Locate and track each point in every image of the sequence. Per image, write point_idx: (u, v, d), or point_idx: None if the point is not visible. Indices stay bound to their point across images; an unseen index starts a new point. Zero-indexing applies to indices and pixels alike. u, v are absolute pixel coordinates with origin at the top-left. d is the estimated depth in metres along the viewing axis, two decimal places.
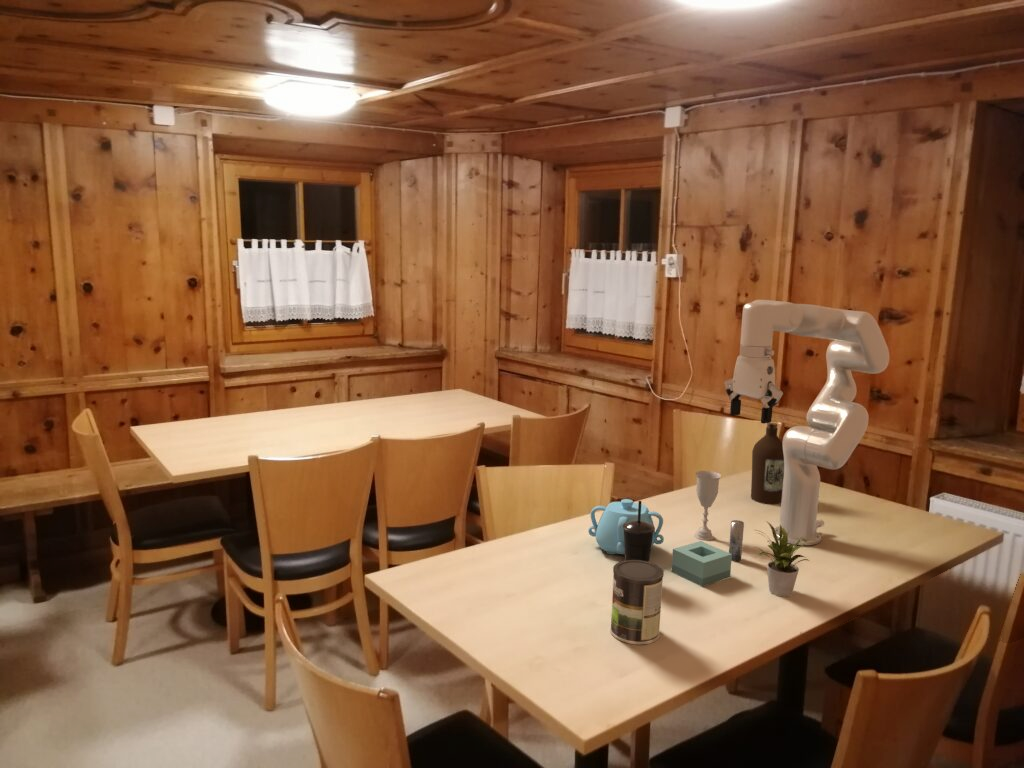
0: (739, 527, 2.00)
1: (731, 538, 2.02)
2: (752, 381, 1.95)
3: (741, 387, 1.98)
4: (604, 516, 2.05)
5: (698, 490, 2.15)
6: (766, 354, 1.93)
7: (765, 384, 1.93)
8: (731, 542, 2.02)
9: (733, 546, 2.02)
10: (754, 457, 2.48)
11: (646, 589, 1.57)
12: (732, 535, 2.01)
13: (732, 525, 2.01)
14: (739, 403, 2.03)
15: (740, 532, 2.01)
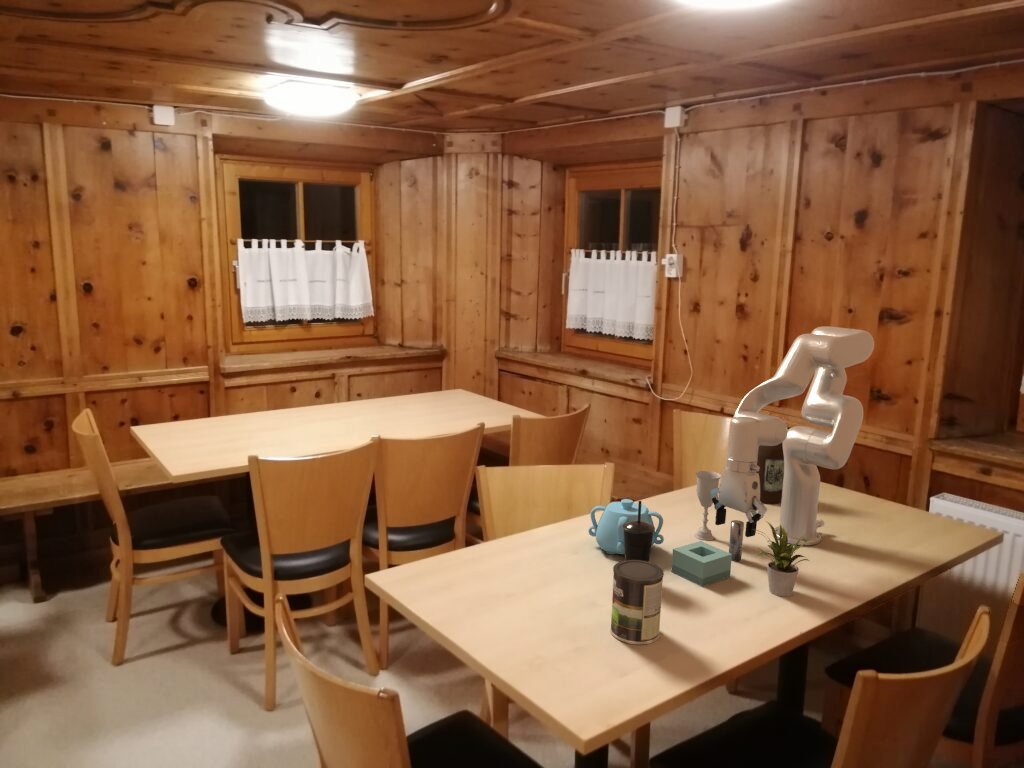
0: (739, 527, 2.00)
1: (731, 538, 2.02)
2: (737, 495, 1.97)
3: (726, 499, 2.00)
4: (604, 516, 2.05)
5: (698, 490, 2.15)
6: (751, 469, 1.95)
7: (750, 499, 1.95)
8: (731, 542, 2.02)
9: (733, 546, 2.02)
10: None
11: (646, 589, 1.57)
12: (732, 535, 2.01)
13: (732, 525, 2.01)
14: (724, 513, 2.05)
15: (740, 532, 2.01)
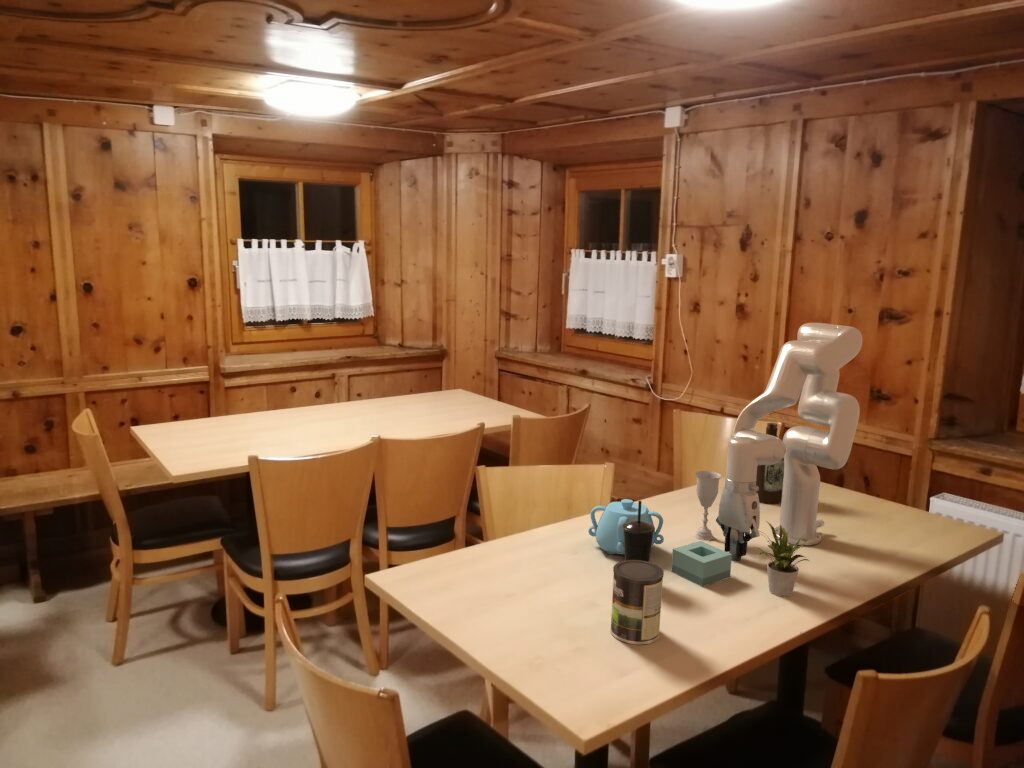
0: None
1: (731, 538, 2.02)
2: (737, 515, 1.98)
3: (726, 518, 2.02)
4: (604, 516, 2.05)
5: (698, 490, 2.15)
6: (751, 490, 1.96)
7: (750, 519, 1.96)
8: (731, 542, 2.02)
9: (733, 546, 2.02)
10: None
11: (646, 589, 1.57)
12: (732, 535, 2.01)
13: None
14: None
15: None
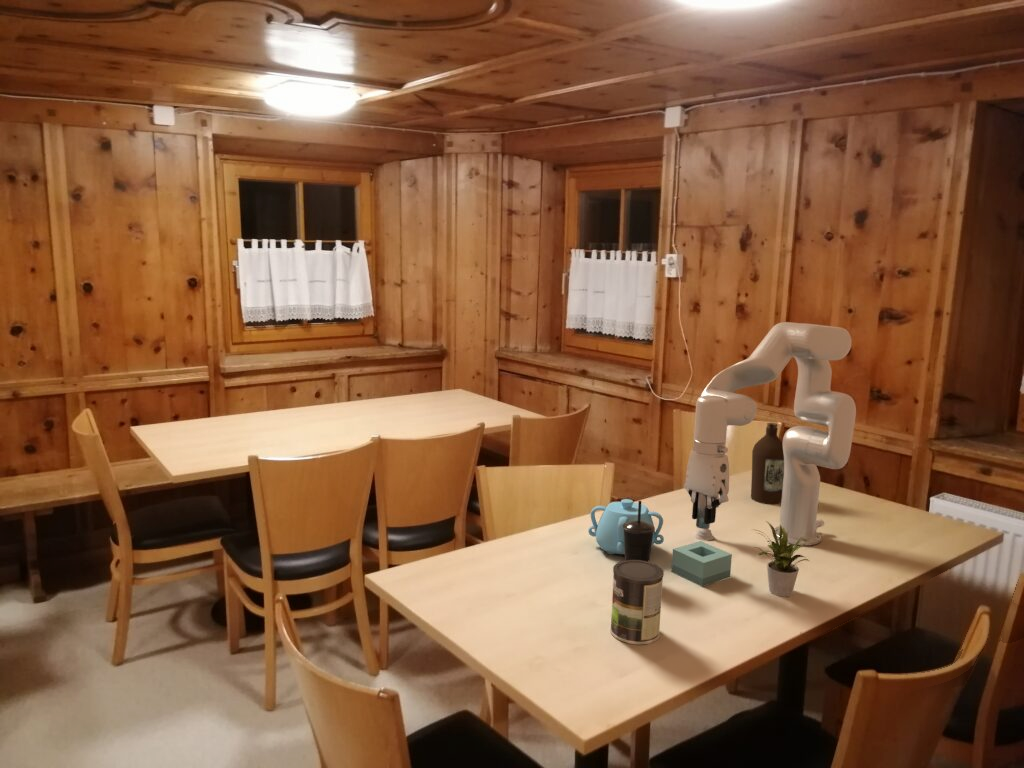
0: None
1: (699, 504, 1.89)
2: (705, 478, 1.86)
3: (694, 483, 1.89)
4: (604, 516, 2.05)
5: None
6: (719, 451, 1.84)
7: (718, 482, 1.84)
8: (699, 508, 1.89)
9: (701, 512, 1.89)
10: (754, 457, 2.48)
11: (646, 589, 1.57)
12: (700, 501, 1.89)
13: None
14: None
15: None
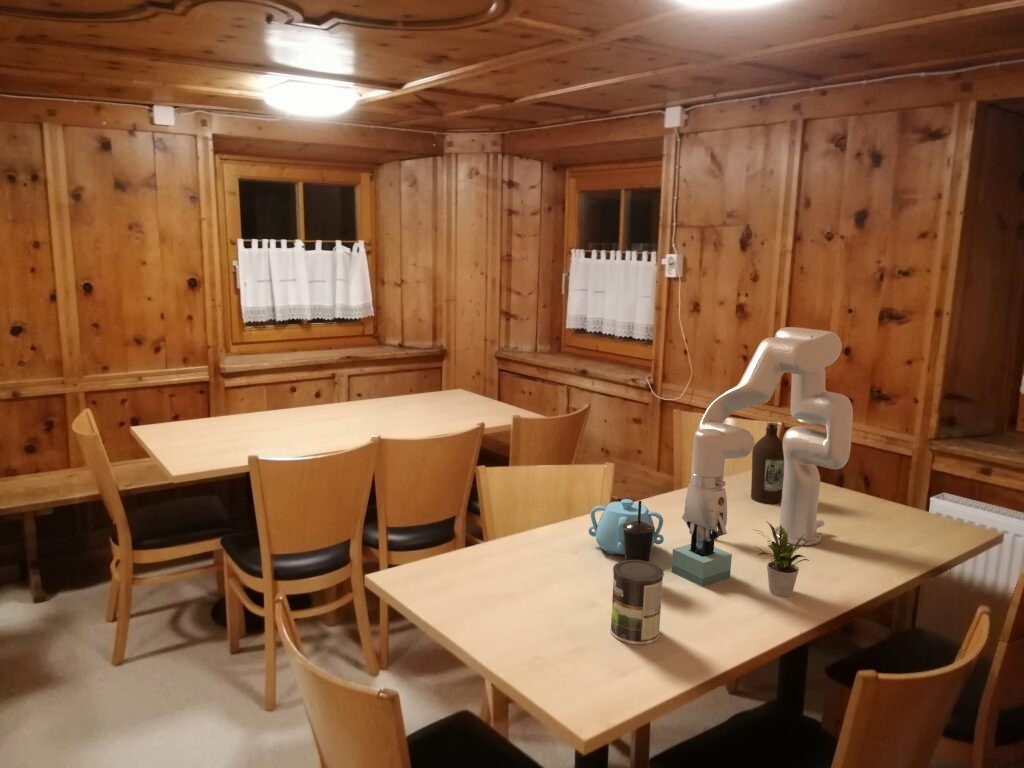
0: None
1: (697, 536, 1.91)
2: (703, 511, 1.88)
3: (692, 515, 1.91)
4: (604, 516, 2.05)
5: None
6: (717, 485, 1.86)
7: (716, 516, 1.86)
8: (697, 540, 1.91)
9: (699, 544, 1.91)
10: (754, 457, 2.48)
11: (646, 589, 1.57)
12: (698, 533, 1.91)
13: None
14: None
15: None
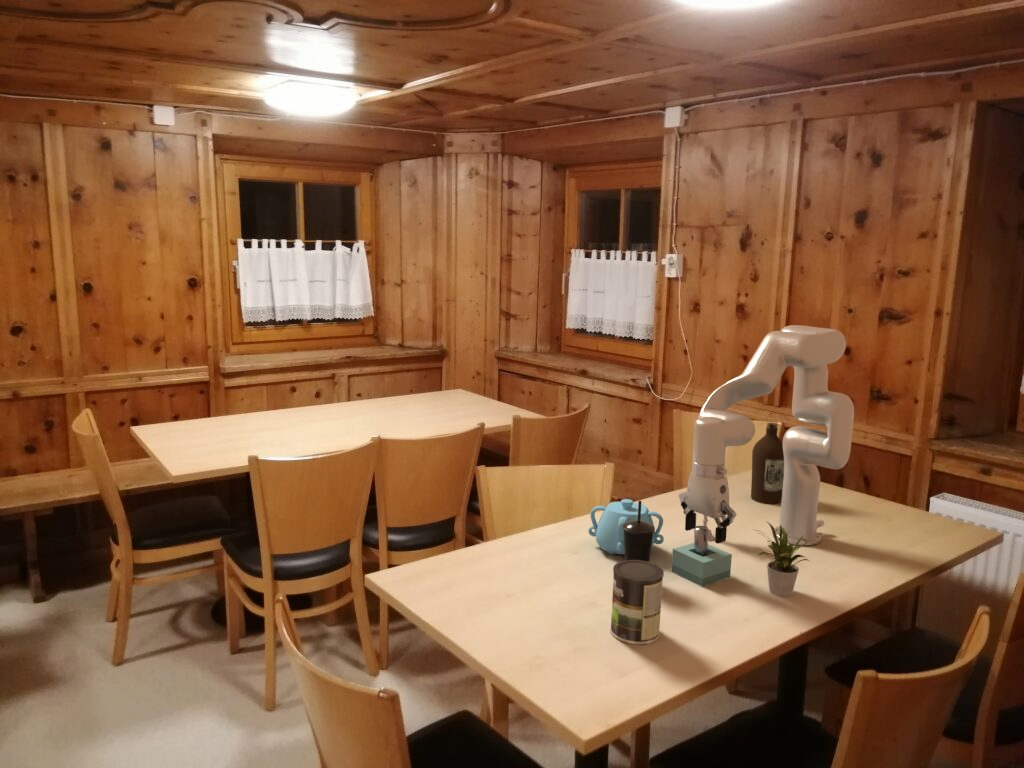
0: (703, 532, 1.90)
1: (695, 545, 1.91)
2: (705, 500, 1.87)
3: (695, 504, 1.91)
4: (604, 516, 2.05)
5: None
6: (718, 473, 1.85)
7: (718, 504, 1.85)
8: (696, 549, 1.92)
9: (698, 553, 1.91)
10: (754, 457, 2.48)
11: (646, 589, 1.57)
12: (696, 542, 1.91)
13: (695, 531, 1.91)
14: (694, 517, 1.96)
15: (704, 538, 1.90)
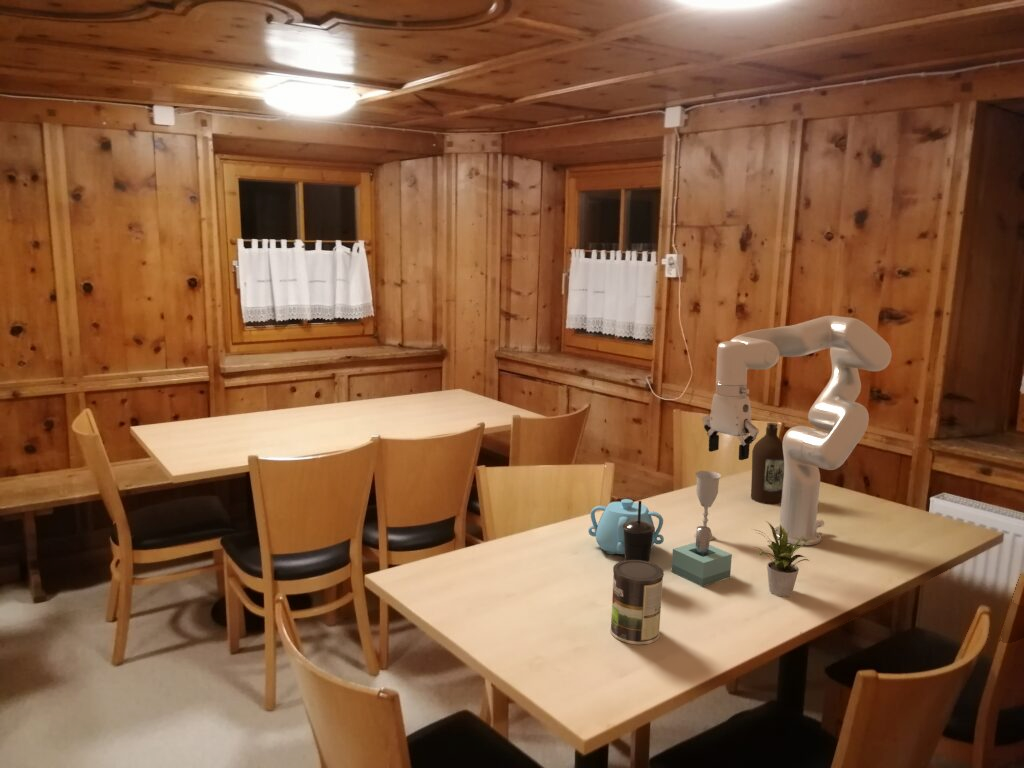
0: (705, 533, 1.90)
1: (697, 545, 1.91)
2: (729, 419, 1.98)
3: (718, 424, 2.01)
4: (604, 516, 2.05)
5: (698, 490, 2.15)
6: (741, 392, 1.96)
7: (741, 422, 1.96)
8: (697, 549, 1.92)
9: (699, 553, 1.91)
10: (754, 457, 2.48)
11: (646, 589, 1.57)
12: (698, 542, 1.91)
13: (698, 531, 1.91)
14: (717, 439, 2.06)
15: (706, 538, 1.90)
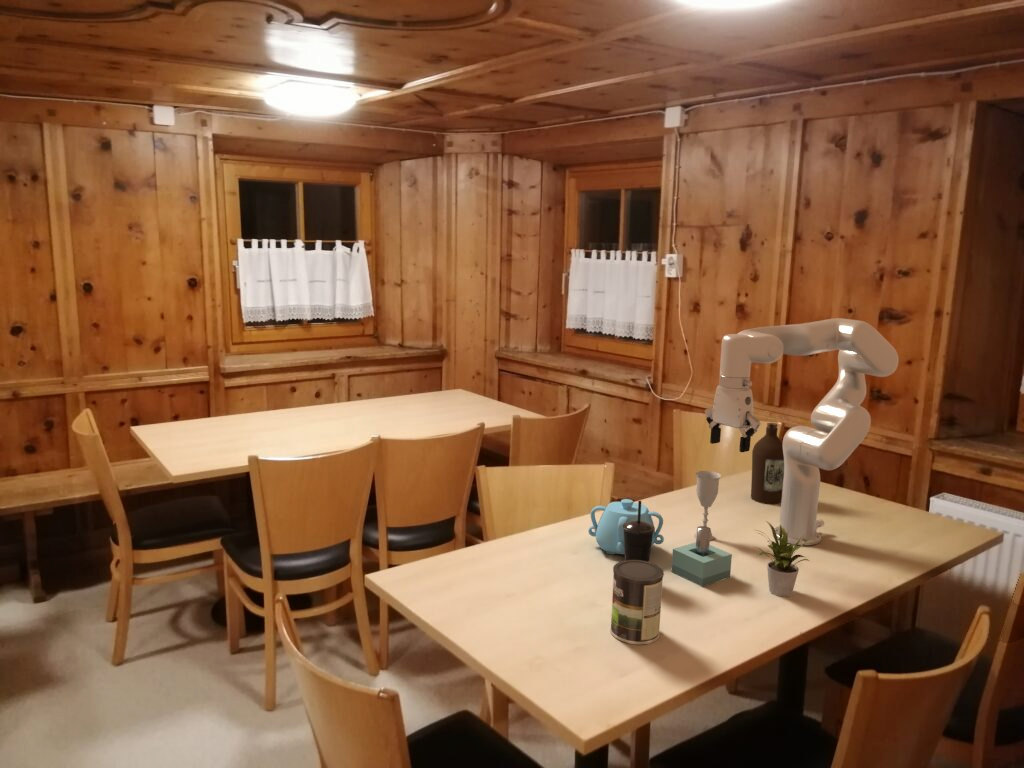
0: (706, 533, 1.90)
1: (697, 545, 1.91)
2: (731, 411, 2.00)
3: (720, 416, 2.03)
4: (604, 516, 2.05)
5: (698, 490, 2.15)
6: (744, 385, 1.98)
7: (743, 414, 1.98)
8: (697, 549, 1.92)
9: (699, 553, 1.91)
10: (754, 457, 2.48)
11: (646, 589, 1.57)
12: (698, 542, 1.91)
13: (698, 531, 1.91)
14: (719, 431, 2.08)
15: (707, 538, 1.90)
